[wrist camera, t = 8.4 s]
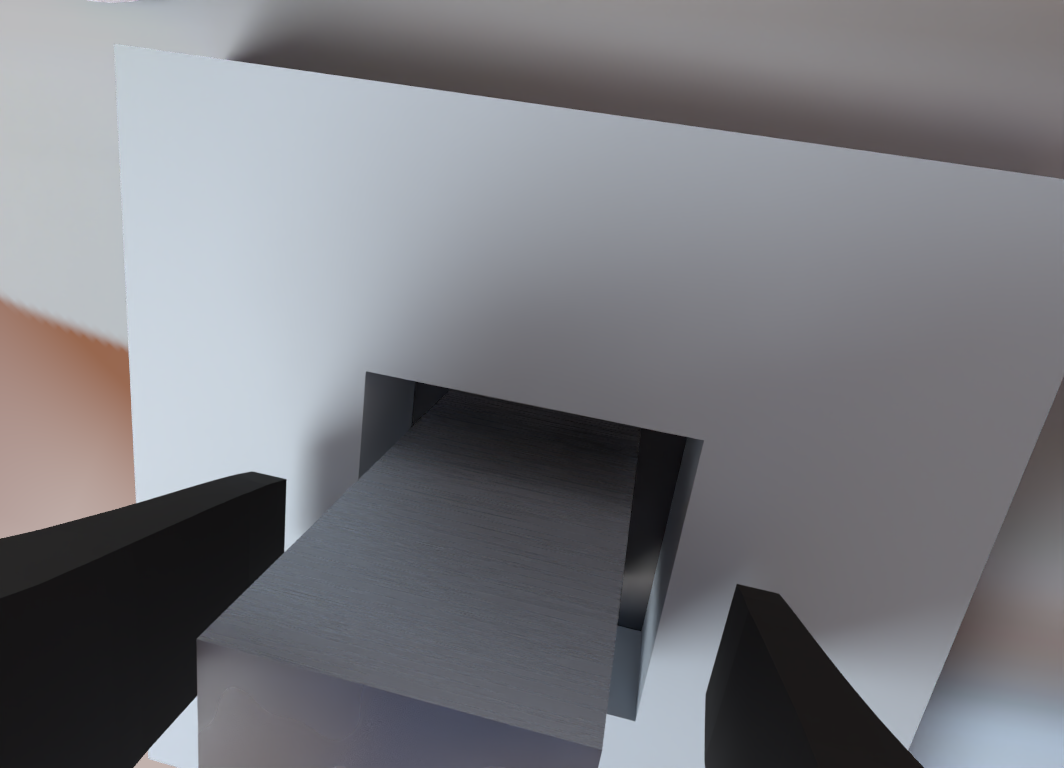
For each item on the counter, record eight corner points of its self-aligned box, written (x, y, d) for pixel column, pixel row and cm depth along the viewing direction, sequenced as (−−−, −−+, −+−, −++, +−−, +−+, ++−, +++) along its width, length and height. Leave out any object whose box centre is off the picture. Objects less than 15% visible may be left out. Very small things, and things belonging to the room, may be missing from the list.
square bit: (608, 576, 14) (536, 1034, 7) (442, 537, 15) (200, 921, 7) (642, 416, 13) (601, 749, 6) (460, 378, 13) (196, 639, 6)
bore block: (797, 839, 15) (820, 962, 13) (220, 677, 17) (148, 758, 15) (1038, 185, 11) (1141, 190, 8) (217, 67, 13) (113, 43, 10)
